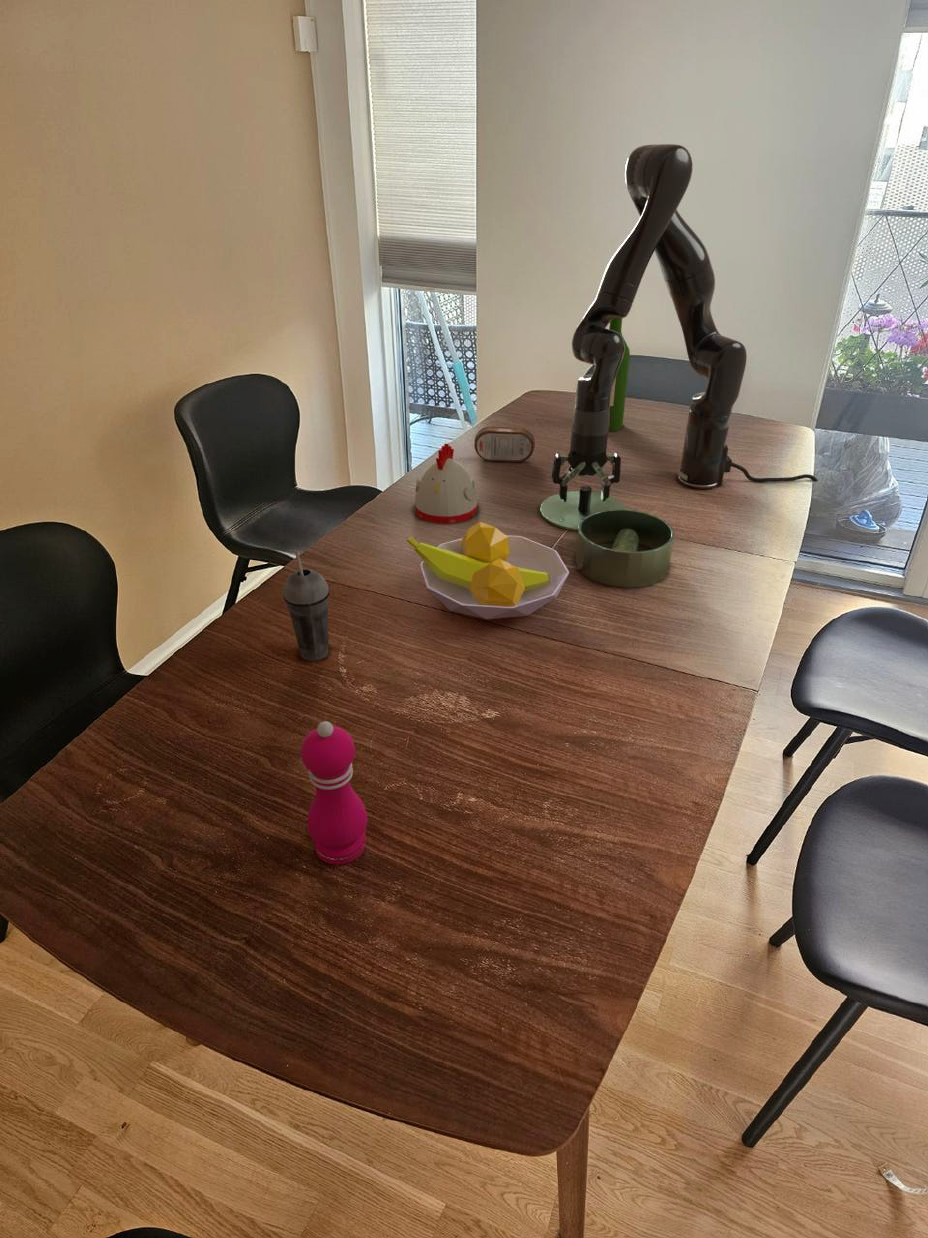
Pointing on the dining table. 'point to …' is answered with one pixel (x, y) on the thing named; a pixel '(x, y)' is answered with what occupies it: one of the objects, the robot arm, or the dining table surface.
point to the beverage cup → (308, 611)
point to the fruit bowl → (491, 573)
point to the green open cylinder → (623, 564)
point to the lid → (576, 507)
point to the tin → (504, 444)
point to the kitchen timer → (445, 491)
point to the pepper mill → (333, 795)
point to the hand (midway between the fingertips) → (583, 500)
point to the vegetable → (626, 541)
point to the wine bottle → (619, 383)
